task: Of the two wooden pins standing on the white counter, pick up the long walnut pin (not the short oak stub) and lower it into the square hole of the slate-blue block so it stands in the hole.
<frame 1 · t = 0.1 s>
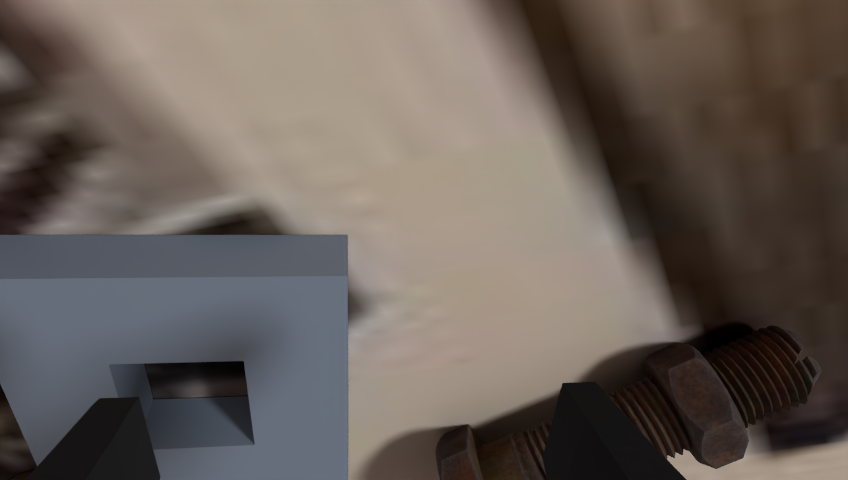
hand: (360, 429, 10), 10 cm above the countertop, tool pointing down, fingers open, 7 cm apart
hole block: (201, 358, 22), on the countertop
bolt: (602, 388, 26), on the countertop
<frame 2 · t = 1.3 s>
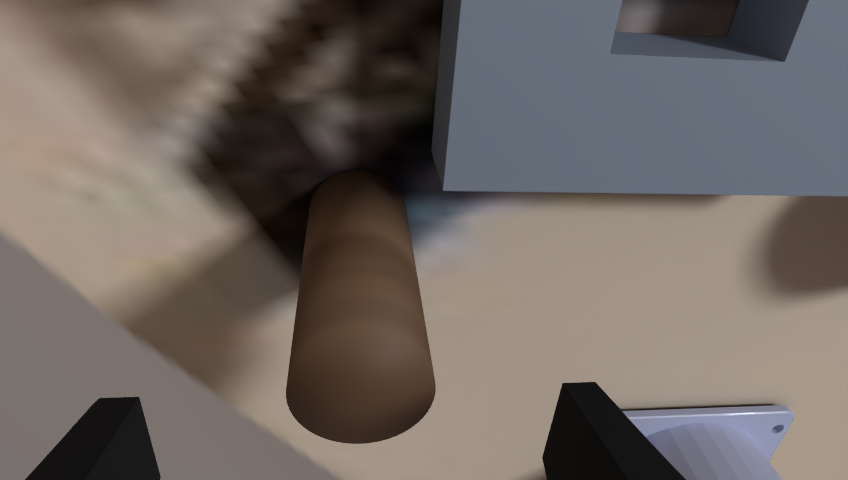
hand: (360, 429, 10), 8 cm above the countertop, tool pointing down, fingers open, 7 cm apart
long walnut pin: (358, 213, 17), on the countertop
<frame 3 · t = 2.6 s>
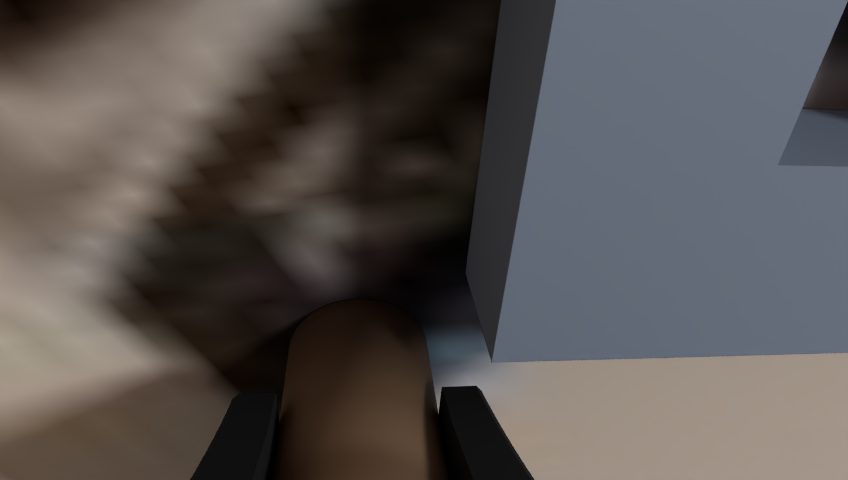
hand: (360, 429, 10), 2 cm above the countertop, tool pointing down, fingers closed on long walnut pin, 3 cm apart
long walnut pin: (358, 353, 12), on the countertop, touching gripper
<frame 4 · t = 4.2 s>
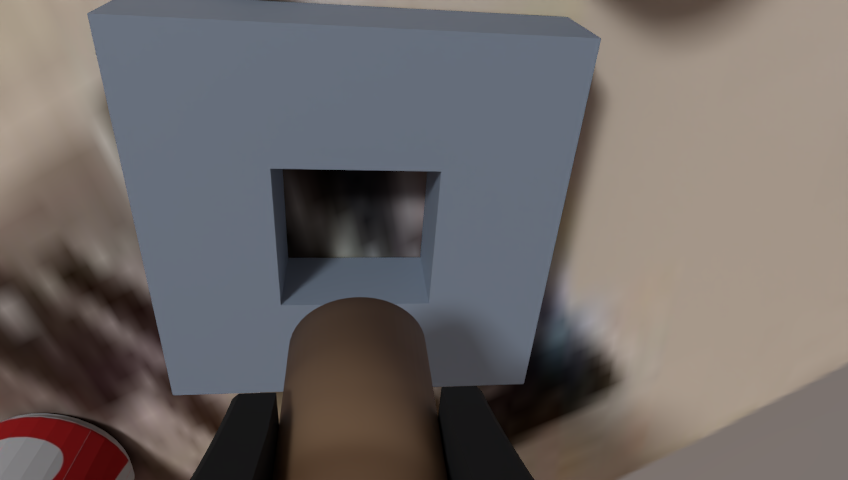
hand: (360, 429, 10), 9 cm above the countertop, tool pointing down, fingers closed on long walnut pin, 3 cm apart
hole block: (355, 199, 17), on the countertop
long walnut pin: (358, 350, 12), point 7 cm above the countertop, touching gripper
beverage can: (52, 449, 22), on the countertop
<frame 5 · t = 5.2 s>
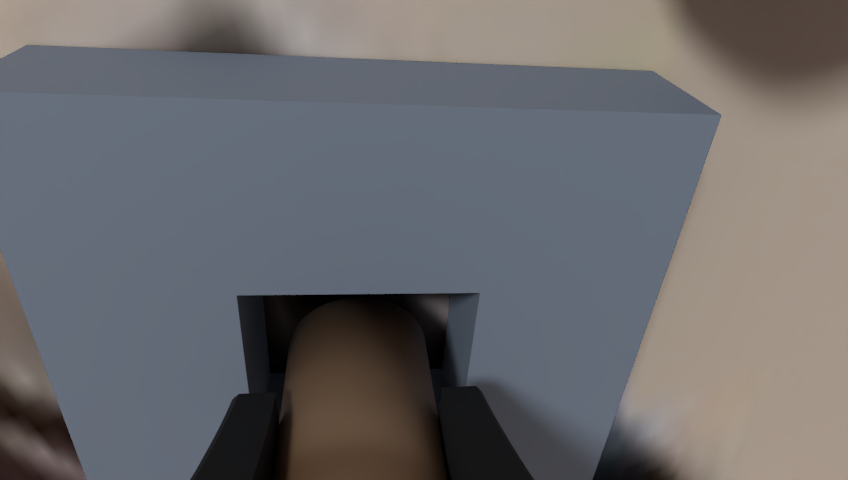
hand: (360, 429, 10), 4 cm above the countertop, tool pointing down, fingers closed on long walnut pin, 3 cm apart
hole block: (358, 303, 13), on the countertop
long walnut pin: (358, 350, 12), point 1 cm above the countertop, touching gripper
when the fingers open (3 cm above the countertop, at t = 6.1 s): long walnut pin stays where it is, resting in hole block.
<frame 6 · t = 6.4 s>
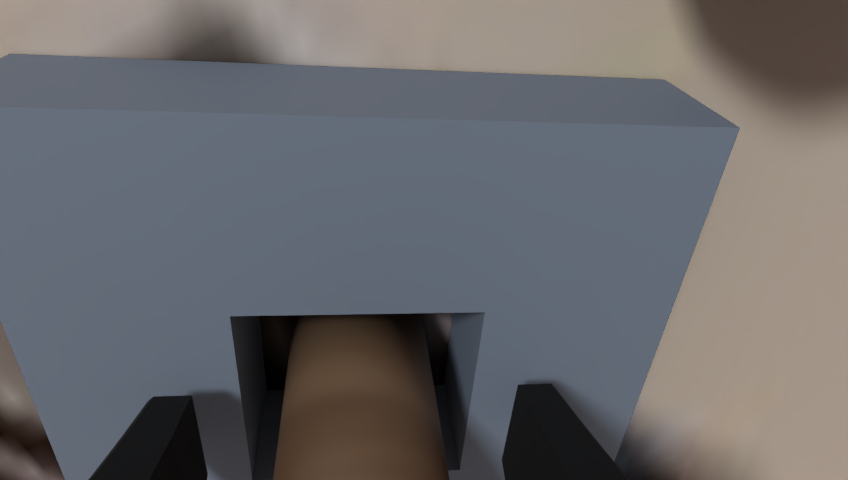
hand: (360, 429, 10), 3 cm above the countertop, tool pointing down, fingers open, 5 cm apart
hole block: (357, 319, 13), on the countertop
long walnut pin: (358, 320, 13), resting in hole block
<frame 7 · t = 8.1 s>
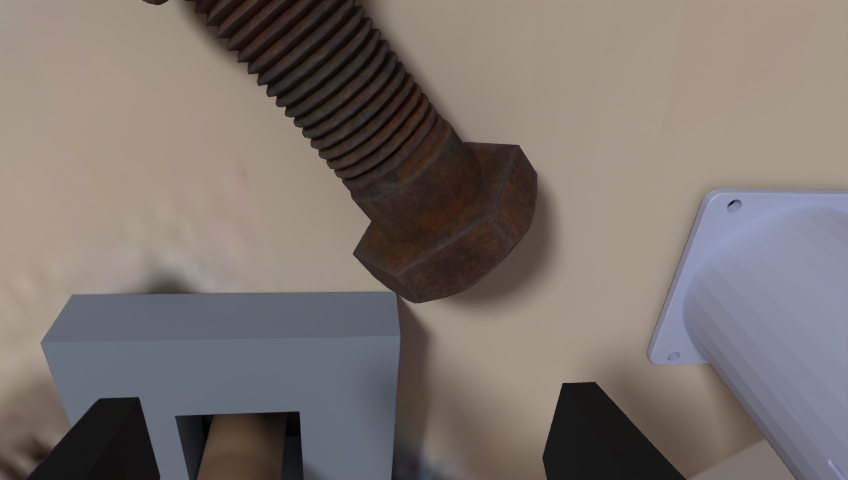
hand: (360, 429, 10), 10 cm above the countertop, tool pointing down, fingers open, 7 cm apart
hole block: (252, 402, 23), on the countertop
long walnut pin: (253, 403, 23), resting in hole block
bolt: (304, 2, 16), on the countertop
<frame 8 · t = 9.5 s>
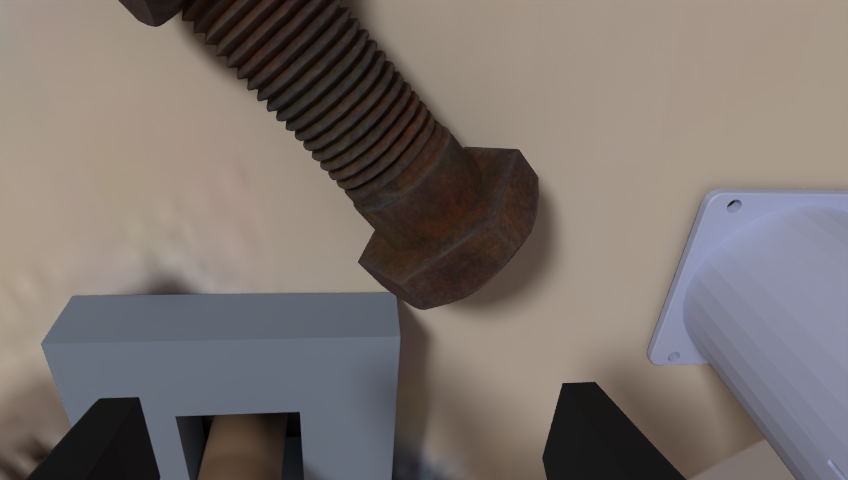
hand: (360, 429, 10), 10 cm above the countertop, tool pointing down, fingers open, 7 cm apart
hole block: (253, 403, 23), on the countertop
long walnut pin: (253, 403, 23), resting in hole block
bolt: (301, 15, 16), on the countertop
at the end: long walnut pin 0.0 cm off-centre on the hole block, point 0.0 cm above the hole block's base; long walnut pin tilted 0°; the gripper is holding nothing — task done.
